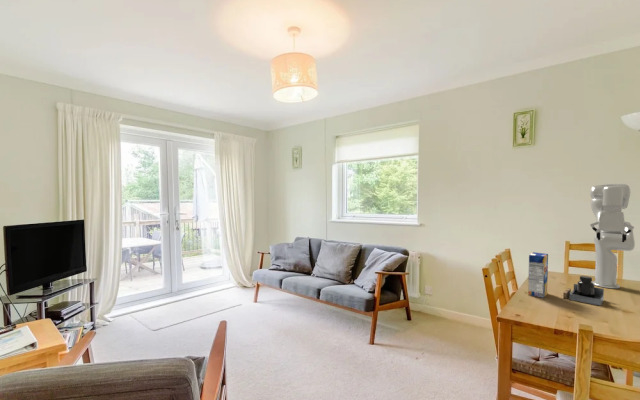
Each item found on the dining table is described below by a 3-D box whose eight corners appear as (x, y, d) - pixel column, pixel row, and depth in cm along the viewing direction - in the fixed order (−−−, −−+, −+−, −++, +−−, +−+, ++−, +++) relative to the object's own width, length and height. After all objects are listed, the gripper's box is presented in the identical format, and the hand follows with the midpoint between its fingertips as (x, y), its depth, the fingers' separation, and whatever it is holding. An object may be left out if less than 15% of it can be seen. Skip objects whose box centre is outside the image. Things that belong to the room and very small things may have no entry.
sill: (568, 293, 173) (568, 288, 173) (570, 294, 172) (570, 288, 172) (563, 298, 165) (563, 292, 165) (566, 298, 164) (566, 293, 164)
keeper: (573, 294, 171) (574, 283, 171) (603, 300, 162) (603, 288, 162) (569, 299, 163) (569, 288, 163) (600, 305, 154) (600, 293, 154)
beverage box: (528, 295, 170) (529, 254, 170) (532, 290, 178) (533, 252, 178) (543, 298, 166) (544, 256, 165) (547, 293, 173) (548, 253, 173)
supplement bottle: (589, 298, 166) (589, 275, 166) (597, 302, 159) (598, 279, 159) (574, 297, 167) (574, 274, 167) (581, 301, 161) (582, 278, 160)
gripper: (589, 208, 172) (588, 239, 173) (634, 210, 159) (633, 243, 160) (591, 208, 177) (591, 238, 178) (635, 209, 164) (634, 242, 165)
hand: (610, 240), depth 169 cm, fingers open, 9 cm apart
